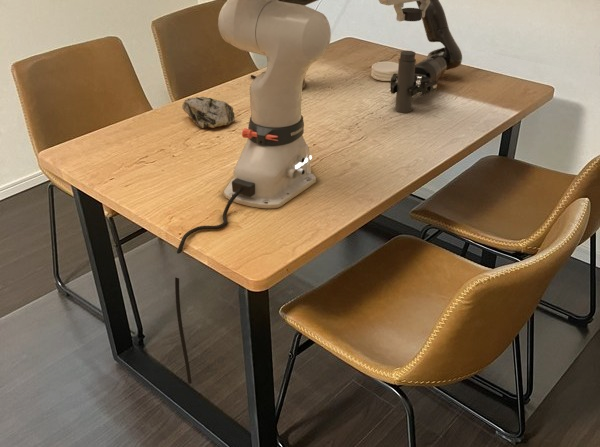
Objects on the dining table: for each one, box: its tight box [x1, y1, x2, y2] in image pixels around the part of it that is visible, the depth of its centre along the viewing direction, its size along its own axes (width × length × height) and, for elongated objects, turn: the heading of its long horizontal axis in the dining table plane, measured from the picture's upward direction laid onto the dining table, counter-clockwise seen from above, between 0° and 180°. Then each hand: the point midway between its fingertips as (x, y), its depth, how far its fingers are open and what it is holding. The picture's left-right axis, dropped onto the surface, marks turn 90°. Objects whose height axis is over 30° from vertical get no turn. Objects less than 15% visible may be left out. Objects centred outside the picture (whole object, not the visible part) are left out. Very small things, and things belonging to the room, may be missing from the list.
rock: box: [181, 96, 236, 129], centre depth 170 cm, size 15×10×7 cm
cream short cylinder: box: [370, 61, 399, 82], centre depth 199 cm, size 10×10×4 cm
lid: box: [402, 7, 422, 22], centre depth 158 cm, size 6×6×2 cm
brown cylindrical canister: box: [394, 50, 417, 114], centre depth 172 cm, size 4×4×16 cm
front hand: (410, 19), depth 159 cm, fingers closed on lid, 5 cm apart
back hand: (401, 92), depth 171 cm, fingers closed on brown cylindrical canister, 4 cm apart
